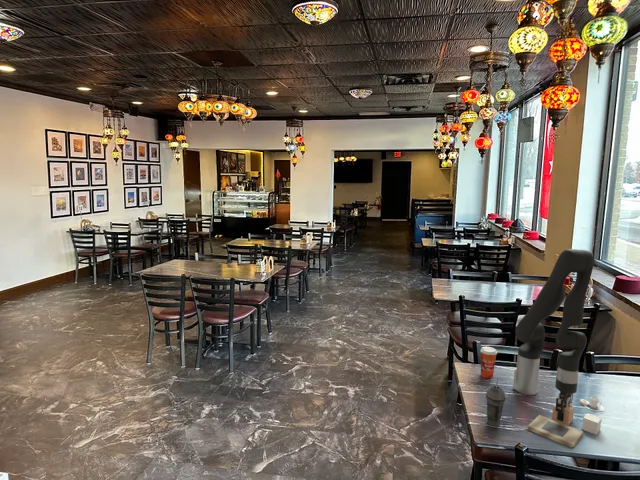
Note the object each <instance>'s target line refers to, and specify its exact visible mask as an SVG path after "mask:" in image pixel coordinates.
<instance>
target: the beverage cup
mask: <svg viewBox="0 0 640 480" xmlns="http://www.w3.org/2000/svg"><path fill="white" fill-rule="evenodd" d="M498 385H499V377H496V382H495V385H493V386H490V387H489V388H488V389H487V390H486V393H485V396H486V397H485V398H486V420H487V424H488V425H489V426H490V427H495V428H496V427H499V426H500V423H501V419H502V413H503V409H504V404H505V401H506V399H507V398H506V393H505V391H504V389H503V388H501V387H500V386H498Z"/></svg>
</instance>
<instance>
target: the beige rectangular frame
mask: <svg viewBox="0 0 640 480" xmlns="http://www.w3.org/2000/svg"><path fill="white" fill-rule="evenodd" d="M527 430H529V431H530V432H532V433H535V434H537V435H540V436H542V437H544V438H546V439H550V440H551V441H554V442H557V443H560V445H561V444H562V445H563V444H564V446H566V445H567V446H566V447H568V446H570V447H569V448H571V447H576V445H577V444H578V443H579V441H580V440H581V438H582V437H583V435H584V431H583V430H580V429H577V428H574V427H572V426H569V425H568V426H567V425H565V424H562V423H560V422H557V421H554V420H552V418H549V417H546V416H544V415H541V414H538V416H536V417H535V418H534V419H533V420H532V421H531V422H530V423H529V424H528V425H527Z"/></svg>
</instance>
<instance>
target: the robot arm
mask: <svg viewBox="0 0 640 480" xmlns="http://www.w3.org/2000/svg"><path fill="white" fill-rule="evenodd" d="M594 260H595V258H594V255H593V254H592V252H590V251H589V250H586V249H573V248H567V249H564V250H562V252H561V253H560V254H559V256H558V257H557V259H556V262H555V265H553V266H554V267H553V269H552V271H551V273H550V275H549V277H548V279H547V280H546V281H545V284H544V285H543V286H542V288H541V290H540V291H539V293H538V295H537V296H536V298H535V300H534V301H533V303H532V305H531V306H530V308H529V309H528V311H527V312H526V314H524V316H523V317H522V318H521V320H520V321H519V322H518V324H517V325H516V326H515V337H516V339H517V340H518V341H520V342H522V343H523V344H521V345H519V347H518V349H517V359H516V368H515V369H514V375H513V385H512V389H513V390H515V391H516V392H518V393H520V394H523V395H526V396H534V395H536V394H537V391H538V382H539V381H538V380H539V372H540V361H541V355H542V353H543V351H544V344H545V338H546V332H545V331H546V330H545V327H544V324H543V323H542V322H543V321H544V320H546V319H548V318H549V317H551V316H552V315H553V314H555V313H556V312H557V310H559V308H560V307H561V305H562V303H563V306H562V319H561V322H560V325H559V329H558V331H557V332H556V334H555V335H556V336H555V342H556V344H557V346H558V347H559V348H563V349H571V351H563V352H560V353H559V357H558V364H557V369H556V375H555V376H556V377H555V389H556V390H557V391H559V393H558V395H557V397H556V399H555V404H556V411H557V412H558V413H557V420H559V421H563V420H564V412H565V408H567V405H572V403H573V399H574V394H576V393H577V391H578V383H579V382H578V381H579V367H580V359H581V356H582V355H583V352H584V350H585V348H586V346H587V344H588V339H587V336H586V334H585V333H584V332H581V331H575V330H568V329H569V328H571V327H577V326H578V327H579V326H582V325H583V322H584V310H585V302H586V296H587V292H588V288H589V285H590V281H591V277H592V273H593V270H594V269H593V268H594V263H595V261H594ZM571 273H576V276H575V282H574V284H573V286H572V288H571V289H570V291H569V292H568V294H567V296H566V290H565V286H564V285H565V282H566V280H567V278H568V276H569V275H570V274H571ZM564 404H565V405H564ZM559 408H561V409H559Z"/></svg>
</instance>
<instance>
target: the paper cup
mask: <svg viewBox="0 0 640 480" xmlns="http://www.w3.org/2000/svg"><path fill="white" fill-rule="evenodd" d="M479 351H480V376H481V377H482V378H484V379H493V377H494V371H495V365H496V358H497V354H498V352H497V349H495V348H494V347H491V346H482V347H481V349H480V350H479Z"/></svg>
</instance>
